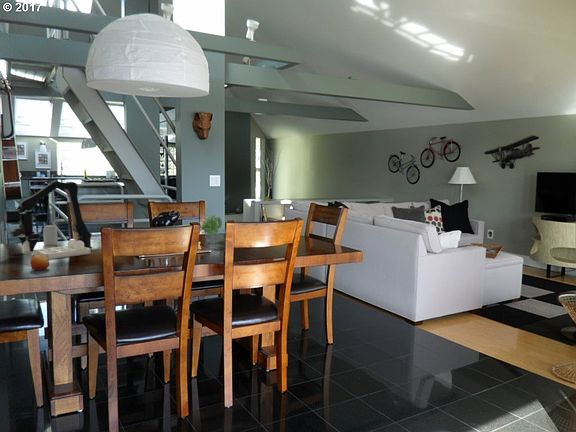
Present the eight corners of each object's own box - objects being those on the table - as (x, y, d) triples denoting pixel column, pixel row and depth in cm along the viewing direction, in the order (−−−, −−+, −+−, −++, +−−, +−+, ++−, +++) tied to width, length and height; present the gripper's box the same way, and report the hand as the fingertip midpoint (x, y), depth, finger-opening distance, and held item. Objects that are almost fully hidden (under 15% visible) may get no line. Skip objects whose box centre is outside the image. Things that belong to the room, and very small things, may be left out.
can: (51, 246, 275) (51, 226, 274) (40, 245, 276) (40, 226, 275) (60, 244, 282) (59, 225, 281) (49, 243, 284) (49, 224, 283)
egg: (30, 252, 256) (30, 239, 255) (34, 253, 253) (34, 240, 252) (21, 253, 252) (20, 240, 252) (25, 254, 249) (24, 241, 248)
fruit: (31, 265, 216) (39, 250, 216) (46, 273, 217) (54, 259, 217) (22, 268, 208) (31, 253, 208) (38, 277, 209) (47, 262, 209)
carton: (76, 250, 265) (76, 237, 264) (90, 253, 255) (90, 240, 254) (33, 255, 246) (32, 241, 246) (46, 259, 236) (45, 245, 235)
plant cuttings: (223, 248, 319) (198, 229, 317) (239, 229, 318) (213, 210, 316) (218, 258, 284) (189, 236, 282) (235, 237, 283) (206, 215, 281)
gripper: (4, 222, 251) (5, 250, 252) (17, 225, 239) (18, 254, 240) (25, 220, 259) (26, 247, 261) (40, 223, 247) (41, 251, 249)
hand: (27, 250), depth 252 cm, fingers open, 9 cm apart
